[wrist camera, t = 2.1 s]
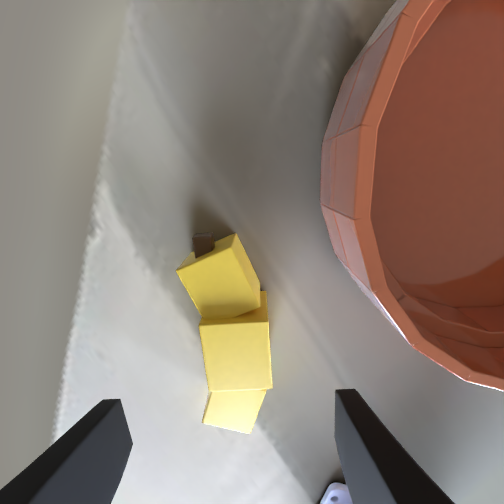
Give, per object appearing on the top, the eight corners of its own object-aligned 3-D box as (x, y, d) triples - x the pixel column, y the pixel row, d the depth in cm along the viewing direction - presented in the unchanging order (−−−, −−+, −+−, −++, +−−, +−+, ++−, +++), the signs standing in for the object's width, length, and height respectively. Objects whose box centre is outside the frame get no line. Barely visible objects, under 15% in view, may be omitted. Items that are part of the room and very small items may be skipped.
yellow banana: (273, 392, 16) (276, 441, 13) (212, 395, 16) (202, 444, 13) (261, 223, 13) (263, 238, 10) (187, 228, 13) (166, 245, 10)
